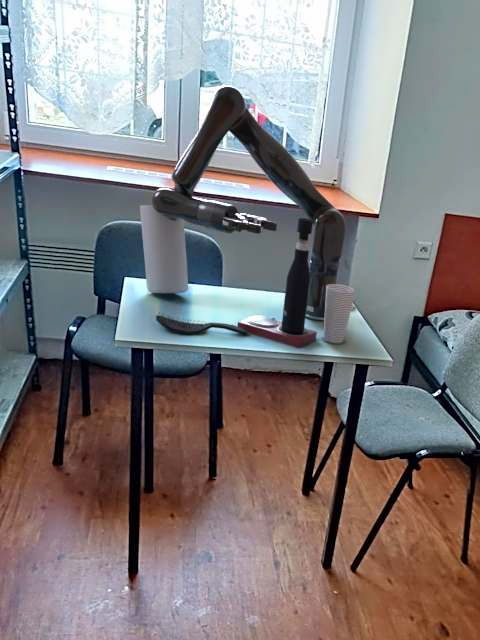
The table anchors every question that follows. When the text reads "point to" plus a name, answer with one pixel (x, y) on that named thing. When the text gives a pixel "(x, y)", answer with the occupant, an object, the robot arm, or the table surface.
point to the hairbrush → (194, 326)
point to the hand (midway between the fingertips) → (268, 228)
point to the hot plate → (276, 331)
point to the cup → (337, 311)
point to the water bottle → (298, 282)
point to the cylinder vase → (163, 252)
